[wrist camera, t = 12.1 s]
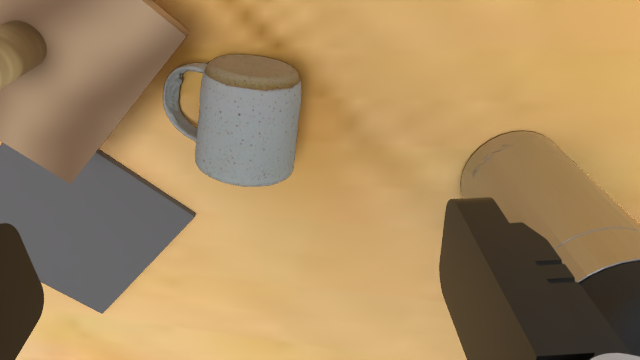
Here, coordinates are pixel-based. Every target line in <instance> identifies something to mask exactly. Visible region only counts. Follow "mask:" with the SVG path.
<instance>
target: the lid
mask: <svg viewBox="0 0 640 360" xmlns="http://www.w3.org/2000/svg"><path fill="white" fill-rule="evenodd" d="M189 32H190V31H188V30H187V29H186V28H185V27H184V26H182V25H181V24H180V23H179V22H178V21H176V20H175V19H174V18H173V17H171V16H170V15H169V14H168V13H167V12H165V11H164V10H163V9H162V8H161V7H159V6H158V5H157V4H156V3H154V2H153V1H152V0H0V141H1V142H3V143H5V144H6V145H8V146H9V147H11V148H13V149H14V150H16V151H18V152H19V153H21V154H22V155H24V156H26V157H27V158H29V159H31V160H32V161H34V162H35V163H37V164H39V165H40V166H42V167H44V168H45V169H47V170H48V171H50V172H52V173H53V174H55V175H57V176H58V177H60V178H61V179H63V180H65V181H66V182H68V183H70V184H71V183H72V182H73V181H74V179H75V178H76V177H77V175H78V174H79V173H80V172H81V170H82V169H83V168H84V166H85V165H86V164H87V163H88V161H89V160H90V159H91V158H92V156H93V155H94V154H95V152H96V151H97V150H98V149H99V147H100V146H101V145H102V143H103V142H104V141H105V140H106V138H107V137H108V136H109V135H110V133H111V132H112V131H113V129H114V128H115V127H116V126H117V124H118V123H119V122H120V121H121V119H122V118H123V117H124V115H125V114H126V113H127V112H128V110H129V109H130V108H131V106H132V105H133V104H134V103H135V101H136V100H137V99H138V98H139V96H140V95H141V94H142V92H143V91H144V90H145V89H146V87H147V86H148V85H149V83H150V82H151V81H152V80H153V78H154V77H155V76H156V75H157V73H158V72H159V71H160V69H161V68H162V67H163V66H164V64H165V63H166V62H167V61H168V59H169V58H170V57H171V55H172V54H173V53H174V52H175V50H176V49H177V48H178V46H179V45H180V44H181V43H182V41H183V40H184V39H185V38H186V36H187V35H188V34H189Z"/></svg>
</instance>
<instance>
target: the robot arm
mask: <svg viewBox="0 0 640 360" xmlns="http://www.w3.org/2000/svg"><path fill="white" fill-rule="evenodd" d="M461 192H462V195H463V198H464V199H450V200H449V201H448V203H447V206H446V212H445V221H444V229H443V238H442V247H441V255H440V265H439V272H440V283H441V288H442V293H443V296H444V299H445V302H446V304H447V307H448V310H449V312H450V315H451V318H452V320H453V323H454V326H455V328H456V331H457V334H458V336H459V339H460V342H461V344H462V347H463V350H464V352H465V355H466V358H467V360H640V225H639V224H638V223H637V222H636V221H635V220H634V219H633V218H632V217H631V216H630V215H629V214H628V213H627V212H626V211H625V210H623V209H622V208H621V207H620V206H619V205H618V204H617V203H616V202H615V201H614V200H613V199H612V198H611V197H610V196H609V195H608V194H607V193H606V192H605V191H603V190H602V189H601V188H600V187H599V186H598V185H597V184H596V183H595V182H594V181H593V180H592V179H591V178H590V177H589V176H588V175H587V174H586V173H584V172H583V171H582V170H581V169H580V168H579V167H578V166H577V165H576V164H575V163H574V162H573V161H572V160H571V159H570V158H569V157H568V156H567V155H566V154H565V153H564V152H563V151H562V150H561V149H560V148H558V147H557V146H556V145H555V144H554V143H553V142H552V141H551V140H550V139H548V138H546V137H545V136H543V135H541V134H538V133H535V132H528V131H517V132H510V133H507V134H503V135H500V136H498V137H496V138H494V139H492V140H490V141H488V142H487V143H485V144H484V145H483V146H481V147H480V148H479V149H478V150H477V151H476V152H475V153H474V154H473V155H472V156H471V158H470V159H469V161H468V162H467V164H466V166H465V168H464V171H463V173H462V178H461ZM43 304H44V293H43V288H42V285H41V282H40V280H39V278H38V275H37V273H36V271H35V269H34V266H33V264H32V262H31V259H30V257H29V255H28V253H27V250H26V248H25V246H24V243H23V241H22V239H21V236H20V234H19V232H18V231H17V229H16V228H15V227H14V226H13V225H11V224H8V223H0V360H15V359H16V357H17V355H18V354H19V352H20V350H21V349H22V347H23V345H24V344H25V342H26V340H27V339H28V337H29V336H30V334H31V332H32V331H33V329H34V327H35V326H36V324H37V322H38V320H39V319H40V316H41V314H42V310H43Z"/></svg>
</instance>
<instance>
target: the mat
mask: <svg viewBox="0 0 640 360" xmlns="http://www.w3.org/2000/svg"><path fill="white" fill-rule="evenodd" d="M195 214H196V213H195V212H193V211H192V210H190V209H189V208H187V207H186V206H184V205H183V204H181V203H180V202H178V201H176V200H175V199H173V198H172V197H170V196H169V195H167V194H166V193H164V192H163V191H161V190H160V189H158V188H157V187H155V186H154V185H152V184H151V183H149V182H148V181H146V180H145V179H143V178H142V177H140V176H139V175H137V174H135V173H134V172H132V171H131V170H129V169H128V168H126V167H125V166H123V165H122V164H120V163H119V162H117V161H116V160H114V159H113V158H111V157H110V156H108V155H107V154H105V153H104V152H102V151H101V150H99V149H98V150H97V151H96V152H95V154H94V155H93V156H92V158H91V159H90V160H89V161H88V163H87V164H86V165H85V166H84V168H83V169H82V170H81V172H80V173H79V174H78V175H77V177H76V178H75V179H74V181H73V182H72V183H71V184H70V183H68V182H66V181H65V180H63V179H61V178H60V177H58V176H57V175H55V174H53V173H52V172H50V171H48V170H47V169H45V168H44V167H42V166H40V165H39V164H37V163H35V162H34V161H32V160H31V159H29V158H27V157H26V156H24V155H22V154H21V153H19V152H18V151H16V150H14V149H13V148H11V147H9V146H8V145H6V144H5V143H3V142H2V144H1V145H0V223H8V224H11V225H13V226H14V227H15V228H16V229H17V231H18V232H19V234H20V236H21V239H22V241H23V243H24V246H25V248H26V250H27V253H28V255H29V257H30V259H31V262H32V264H33V266H34V269H35V271H36V273H37V275H38V278H39V280H40V282H42V283H44V284H46V285H48V286H50V287H52V288H53V289H55V290H57V291H59V292H61V293H63V294H65V295H67V296H69V297H71V298H73V299H75V300H77V301H79V302H80V303H82V304H84V305H86V306H88V307H90V308H92V309H94V310H96V311H98V312H100V313H102V314H103V313H104V311H105V310H106V309H107V308H108V307H109V306H110V305H111V304H112V303H113V302H114V301H115V300H116V299H117V298H118V297H119V296H120V295H121V294H122V293H123V291H124V290H125V289H126V288H127V287H128V286H129V285H130V284H131V283H132V282H133V281H134V280H135V279H136V278H137V277H138V276H139V275H140V274H141V273H142V272H143V270H144V269H145V268H146V267H147V266H148V265H149V264H150V263H151V262H152V261H153V260H154V259H155V258H156V257H157V256H158V255H159V254H160V253H161V252H162V250H163V249H164V248H165V247H166V246H167V245H168V244H169V243H170V242H171V241H172V240H173V239H174V238H175V237H176V236H177V235H178V234H179V233H180V232H181V231H182V229H183V228H184V227H185V226H186V225H187V224H188V223H189V222H190V221H191V220H192V219H193V218H194V217H195Z"/></svg>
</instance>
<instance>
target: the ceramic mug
mask: <svg viewBox="0 0 640 360" xmlns="http://www.w3.org/2000/svg"><path fill="white" fill-rule="evenodd" d="M186 71H197V72H200V73H204V74H203V78H202V82H201V91H200V110H199V120H198V128H196V127H194V126H193V125H192V124H191V123H189V122H188V121H187V119H186V118H185V117H184V115H183V114H182V112H181V110H180V106H179V104H178V99H179V91H180V85H181V83H182V75H183V74H184V73H185V72H186ZM301 97H302V94H301V80H300V76H299V74H298V73H297V71H296V70H295V69H294V68H293V67H292V66H290V65H289V64H287V63H284V62H282V61H279V60H276V59H272V58H267V57H263V56H255V55H243V54H234V55H223V56H220V57H217V58H214V59H213V60H211V61H210V62H209V63H208V64H206V63H190V64H187V65H183V66H181V67H178V68H177V69H175V70H174V71H172V72H171V74H170V75H169V76H168V77H167V79H166V82H165V85H164V88H163V105H164V109H165V112H166V114H167V116H168V118H169V119H170V121H171V122H172V124H173V125H174V126H175V127H176V128H177V129H178V130H179V131H180V132H181V133H182V134H184V135H185V136H187V137H188V138H190V139H192V140H194V141H195V142H196V150H195V162H196V164H197V166H198V168H199V169H200V170H201V171H202V172H203V173H205V174H206V175H208V176H209V177H211V178H213V179H216V180H218V181H221V182H224V183H227V184H232V185H238V186H245V187H246V186H252V187H259V186H269V185H273V184H276V183H279V182H281V181H283V180H285V179H287V178H288V177H289V176H290V175H291V173H292V171H293V168H294V159H295V149H296V141H297V132H298V120H299V113H300V105H301Z"/></svg>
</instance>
